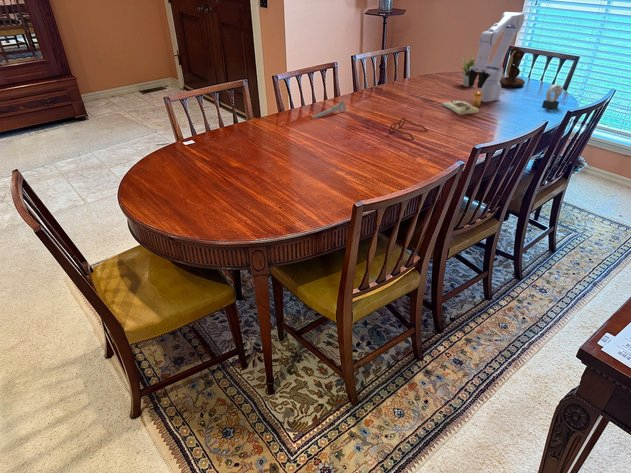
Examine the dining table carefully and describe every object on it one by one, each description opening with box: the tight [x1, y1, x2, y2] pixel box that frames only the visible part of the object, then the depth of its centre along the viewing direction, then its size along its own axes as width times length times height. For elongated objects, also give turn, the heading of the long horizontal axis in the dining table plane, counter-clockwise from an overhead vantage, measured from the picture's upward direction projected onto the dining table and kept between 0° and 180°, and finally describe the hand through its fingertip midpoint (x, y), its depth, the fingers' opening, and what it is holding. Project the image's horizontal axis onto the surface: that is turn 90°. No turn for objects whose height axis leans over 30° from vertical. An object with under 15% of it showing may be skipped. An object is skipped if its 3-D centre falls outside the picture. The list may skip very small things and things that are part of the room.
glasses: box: [388, 117, 429, 140], centre depth 195 cm, size 13×13×5 cm
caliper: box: [311, 100, 346, 119], centre depth 219 cm, size 20×1×6 cm, turn 119°
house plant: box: [460, 56, 475, 88], centre depth 251 cm, size 14×14×16 cm
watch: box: [541, 84, 564, 110], centre depth 215 cm, size 6×8×11 cm
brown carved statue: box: [499, 47, 526, 88], centre depth 248 cm, size 15×15×20 cm
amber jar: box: [471, 90, 484, 109], centre depth 221 cm, size 5×5×7 cm
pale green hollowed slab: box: [441, 100, 480, 116], centre depth 221 cm, size 10×18×3 cm, turn 15°
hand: (474, 87), depth 217 cm, fingers open, 7 cm apart
